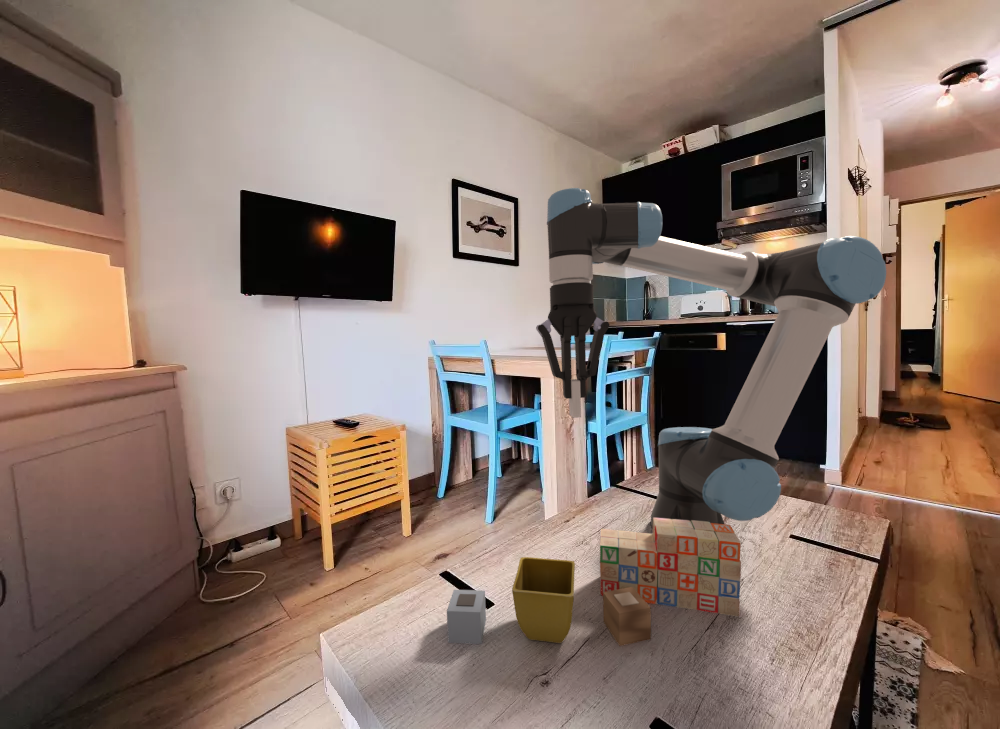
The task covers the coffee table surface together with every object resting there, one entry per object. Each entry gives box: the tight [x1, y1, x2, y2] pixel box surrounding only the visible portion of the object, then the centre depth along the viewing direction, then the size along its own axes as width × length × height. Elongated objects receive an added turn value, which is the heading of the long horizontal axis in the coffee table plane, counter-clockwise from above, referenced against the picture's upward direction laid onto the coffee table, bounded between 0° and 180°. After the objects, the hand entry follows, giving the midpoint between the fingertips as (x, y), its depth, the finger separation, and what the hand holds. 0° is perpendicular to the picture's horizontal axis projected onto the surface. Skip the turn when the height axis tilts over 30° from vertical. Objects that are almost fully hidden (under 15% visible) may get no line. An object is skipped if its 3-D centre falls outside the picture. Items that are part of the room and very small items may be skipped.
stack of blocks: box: [599, 518, 742, 617], centre depth 69 cm, size 21×6×12 cm, turn 74°
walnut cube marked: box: [602, 587, 652, 647], centre depth 61 cm, size 5×5×5 cm
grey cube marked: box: [446, 589, 487, 645], centre depth 62 cm, size 5×5×5 cm
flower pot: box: [511, 556, 576, 644], centre depth 62 cm, size 9×9×9 cm
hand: (575, 415), depth 74 cm, fingers closed
